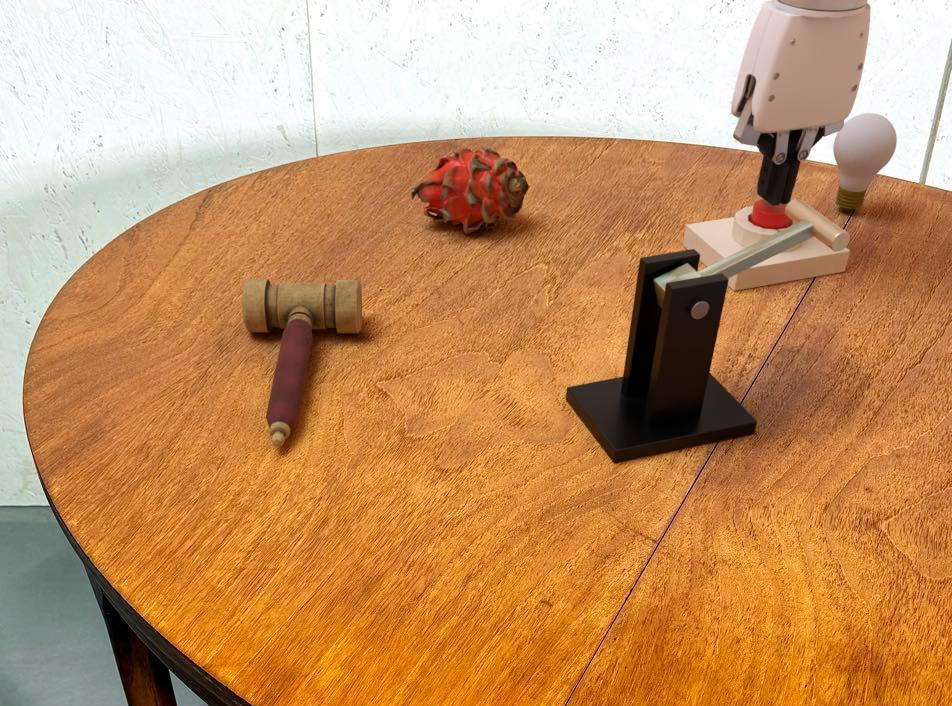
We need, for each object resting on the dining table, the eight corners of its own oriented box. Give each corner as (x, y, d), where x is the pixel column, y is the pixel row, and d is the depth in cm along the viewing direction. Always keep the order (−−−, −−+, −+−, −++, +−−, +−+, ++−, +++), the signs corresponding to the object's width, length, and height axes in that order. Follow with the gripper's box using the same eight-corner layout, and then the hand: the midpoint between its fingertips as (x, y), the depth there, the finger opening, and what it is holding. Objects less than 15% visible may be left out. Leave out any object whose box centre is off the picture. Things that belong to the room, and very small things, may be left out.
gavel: (341, 421, 78) (207, 419, 79) (345, 467, 82) (216, 466, 82) (360, 269, 93) (247, 268, 93) (363, 314, 96) (253, 313, 97)
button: (775, 213, 103) (779, 196, 102) (796, 228, 101) (800, 211, 100) (742, 218, 103) (746, 201, 101) (763, 234, 100) (766, 216, 99)
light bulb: (809, 214, 111) (833, 118, 105) (828, 194, 115) (852, 100, 108) (865, 228, 109) (894, 130, 102) (883, 207, 112) (911, 111, 106)
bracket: (697, 373, 89) (725, 229, 80) (754, 433, 82) (792, 284, 74) (565, 399, 86) (580, 253, 78) (613, 463, 80) (636, 311, 71)
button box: (786, 228, 109) (795, 190, 106) (844, 271, 102) (855, 232, 99) (682, 245, 106) (688, 207, 104) (733, 291, 99) (742, 251, 97)
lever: (803, 216, 80) (801, 189, 78) (850, 251, 76) (849, 223, 74) (646, 293, 80) (640, 267, 78) (684, 332, 76) (680, 305, 74)
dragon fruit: (534, 243, 110) (420, 257, 112) (528, 169, 112) (416, 185, 114) (531, 201, 102) (408, 217, 104) (524, 122, 104) (403, 139, 106)
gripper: (871, -32, 92) (818, 173, 105) (719, -18, 89) (682, 193, 101) (927, -9, 87) (864, 205, 99) (767, 7, 84) (722, 226, 96)
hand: (772, 198), depth 100 cm, fingers closed
